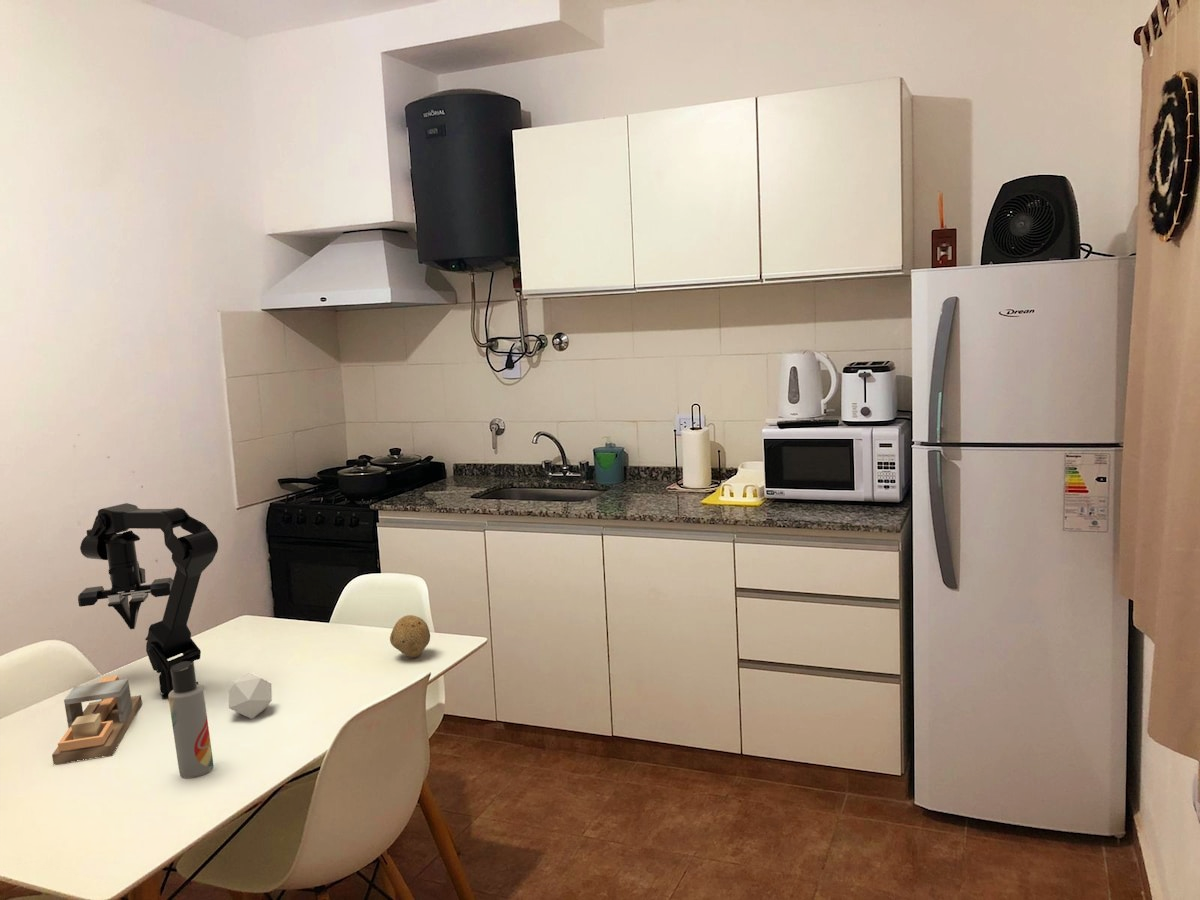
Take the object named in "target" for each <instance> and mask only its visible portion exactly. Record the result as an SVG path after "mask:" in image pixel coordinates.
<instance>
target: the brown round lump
mask: <svg viewBox="0 0 1200 900" xmlns="http://www.w3.org/2000/svg"><path fill="white" fill-rule="evenodd" d="M389 641H390V644H391V646H393V648H395V649H396V650H397V651H399V652H401V653H402V654H404V656H406V657H408V658H411V659H415V658H418V657H419V656H420V655H421V654H422V653H423V651H424V650H425V649H426V647H427V646H428V645H429V643H430V641H431V633H430V628H429V626H428V624H427V622H426V621H425V620H424V619H423V618H421V617H419V616H418V615H417V616H416V615H414V614H413V615H412V614H411V615H410V614H407V615H403V616H402V617H400V618H399V619H398V620H397V622H396V623H395V624H394V626H393V629H392V630H391V633H390V636H389Z"/></svg>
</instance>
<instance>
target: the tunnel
mask: <svg viewBox="0 0 1200 900" xmlns="http://www.w3.org/2000/svg"><path fill="white" fill-rule="evenodd" d="M113 697H116V701H117V704H115V705H114V707H113V708H112V710H111V711H110V713H109V714H108V716H107V717H106V719H105V721H112V720H113V725H114V728H113V730H112V732H111V733H110V735H109V736H108V738H107V740H106V741H105V743H104V744H102V745H96V746H90V747H83V748H77V749H71V750H65V751H59V748H58V746H57V747H56V749H55V750H54V751H53V753H52V754H51V756H52V757H51V758H52V763H53V765H54V764H57V765H61V763H63V764H68V763H67V762H69V763H72V762H71V761H75V762H78V761H77V760H81V761H86V760H85V759H87V760H90V759H89V758H94V759H96V758H95V757H100V758H103V757H102V756H106V757H110V756H109V755H112V754H113V755H114V753H115V752H116V750H117V748H118V746H119V745H118V744H120V743H121V742H122V740H123V737H124V736H125V734H126V733H127V731H128V729H129V727H130V726H131V723H132V722H133V720H134V719H135V717H136V716H137V713H138V712H139V711H140V709H141V707H142V706H143V700H142V695H141V694H140V695H138V694H137V695H134V696H132V695H131V690H130V683H129V678H124V679H119V680H117V681H110V682H103V683H99V682H96V683H91V684H90V683H89V684H83V685H77V686H73V688H72V689H71V691H70V692H69V693H68V694H67V696H65V698H64V699H63V703H64V708H65V709H64V710H65V714H66V715H65V716H66V721H67V727H68V729H69V728H70V727H71V725H72V723H73V722H74V721H75V719H76V718H77V717H79V716H86V715H92V714H94V712H95V711H96V709H97V708H98V706H99V705H100V703H101V702H102V700H101V699H107V698H113ZM84 702H85V703H87V702H89V703H88V705H86V707H85V709H83V705H82V704H83V703H84ZM105 721H104V722H105ZM121 739H122V740H121ZM72 740H73V738H72ZM116 747H117V748H116ZM115 749H116V750H115ZM114 751H115V752H114ZM113 755H112V756H113ZM83 759H84V760H83Z"/></svg>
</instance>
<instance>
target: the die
mask: <svg viewBox="0 0 1200 900" xmlns="http://www.w3.org/2000/svg"><path fill="white" fill-rule="evenodd" d="M272 692H273V691H272V683H271V682H269V681H268V680H265V679H264V678H261V677H260V676H257V675H254V674H253V673H250V672H248V673H246V674H245V675H243V676H242V677H240V678H239V679H238V680H237V679H236V681H235V682H233V684H232V686H231V687H230V688H229V691H228V709H230V710H232V711H234V712H236V713H238V714H241V715H243V716H244V717H247V718H249V719H251V720H253V719H255V717H257V715H259V714H260V713H262V712H263V711H265V710H266V709H267V708H268V706H269V705H270V704H271V702H272V700H273V698H272V697H273V694H272Z"/></svg>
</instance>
